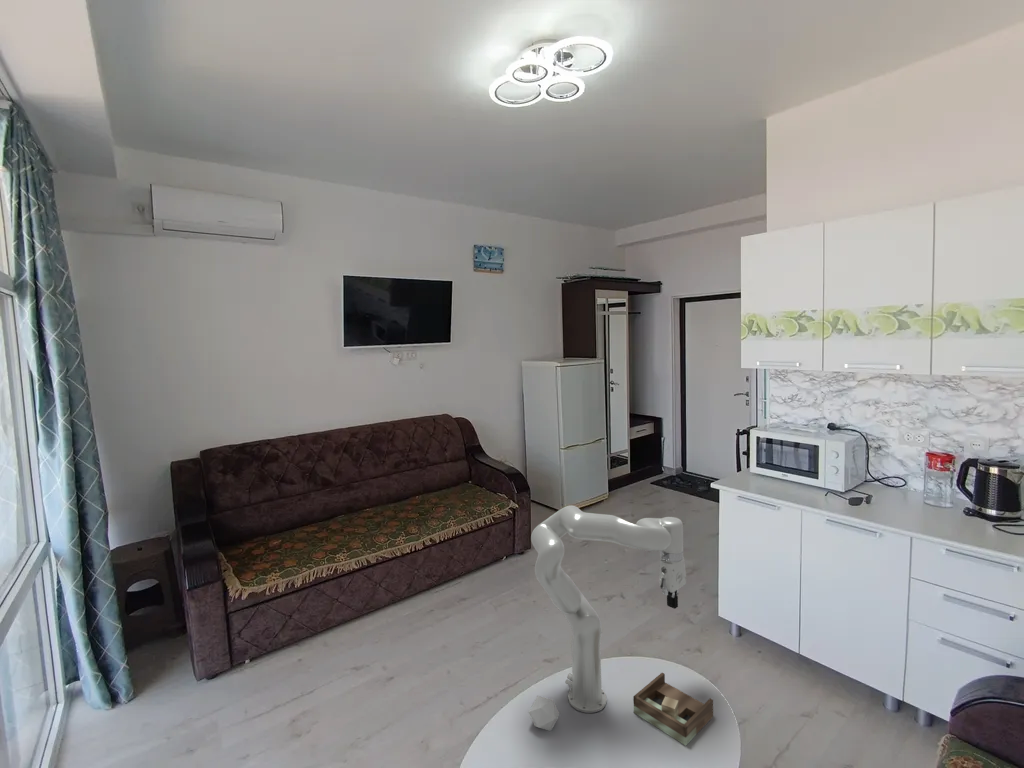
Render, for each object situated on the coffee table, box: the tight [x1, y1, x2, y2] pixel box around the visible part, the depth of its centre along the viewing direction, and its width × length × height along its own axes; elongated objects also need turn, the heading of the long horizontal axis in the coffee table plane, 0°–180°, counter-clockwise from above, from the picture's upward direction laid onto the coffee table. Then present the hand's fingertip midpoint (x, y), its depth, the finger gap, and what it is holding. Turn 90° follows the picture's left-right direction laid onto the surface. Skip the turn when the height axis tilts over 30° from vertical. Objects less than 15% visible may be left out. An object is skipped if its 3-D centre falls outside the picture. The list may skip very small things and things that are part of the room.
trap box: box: [632, 672, 714, 747], centre depth 155 cm, size 18×16×6 cm
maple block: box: [662, 696, 678, 719], centre depth 152 cm, size 4×4×4 cm
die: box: [528, 695, 561, 732], centre depth 153 cm, size 8×9×10 cm
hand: (672, 606), depth 168 cm, fingers closed
